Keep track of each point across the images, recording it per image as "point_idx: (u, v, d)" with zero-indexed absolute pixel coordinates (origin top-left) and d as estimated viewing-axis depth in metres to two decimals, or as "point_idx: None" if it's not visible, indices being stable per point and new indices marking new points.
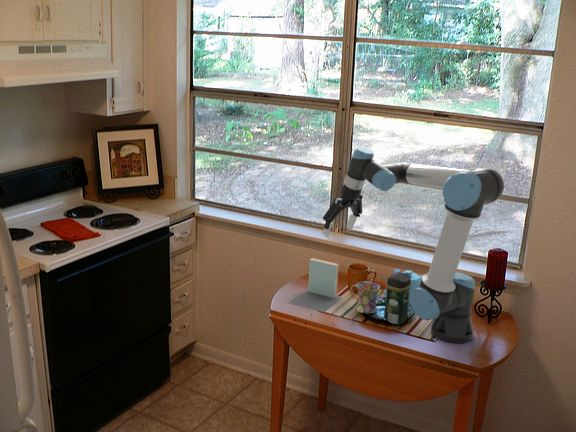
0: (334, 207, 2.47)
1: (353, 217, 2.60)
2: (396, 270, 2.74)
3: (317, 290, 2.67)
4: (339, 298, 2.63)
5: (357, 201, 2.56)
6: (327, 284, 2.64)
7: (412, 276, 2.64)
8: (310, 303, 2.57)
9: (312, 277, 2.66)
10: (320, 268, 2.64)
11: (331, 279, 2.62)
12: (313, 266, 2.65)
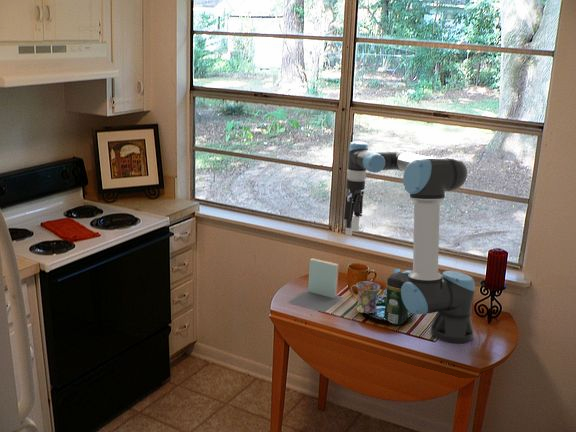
0: (349, 205, 2.66)
1: (356, 218, 2.76)
2: (396, 270, 2.74)
3: (317, 290, 2.67)
4: (339, 298, 2.63)
5: None
6: (327, 284, 2.64)
7: None
8: (310, 303, 2.57)
9: (312, 277, 2.66)
10: (320, 268, 2.64)
11: (331, 279, 2.62)
12: (313, 266, 2.65)
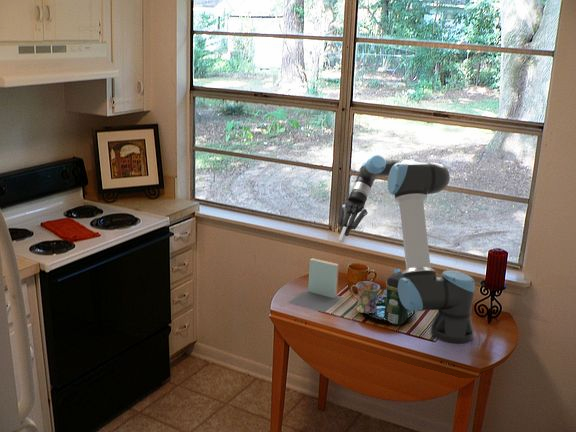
0: None
1: None
2: (396, 270, 2.74)
3: (317, 290, 2.67)
4: (339, 298, 2.63)
5: None
6: (327, 284, 2.64)
7: None
8: (310, 303, 2.57)
9: (312, 277, 2.66)
10: (320, 268, 2.64)
11: (331, 279, 2.62)
12: (313, 266, 2.65)
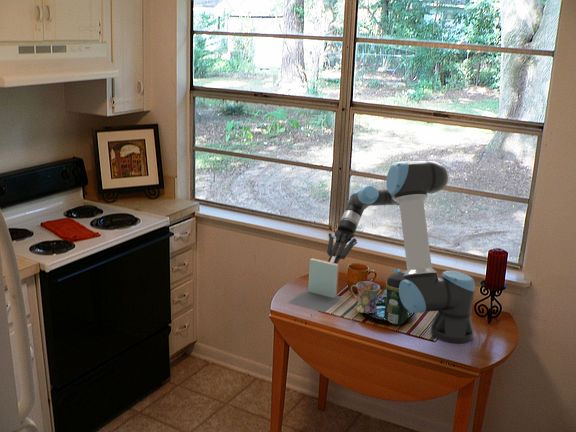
0: None
1: None
2: (396, 270, 2.74)
3: (317, 290, 2.67)
4: (339, 298, 2.63)
5: None
6: (327, 284, 2.64)
7: None
8: (310, 303, 2.57)
9: (312, 277, 2.66)
10: (320, 268, 2.64)
11: (331, 279, 2.62)
12: (313, 266, 2.65)
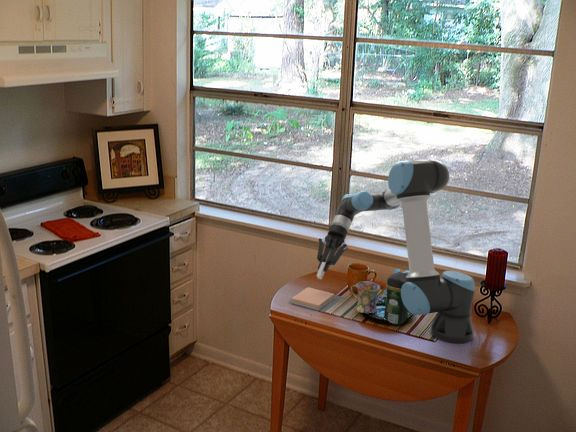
0: None
1: None
2: (396, 270, 2.74)
3: None
4: (339, 298, 2.63)
5: None
6: None
7: None
8: None
9: None
10: None
11: None
12: None
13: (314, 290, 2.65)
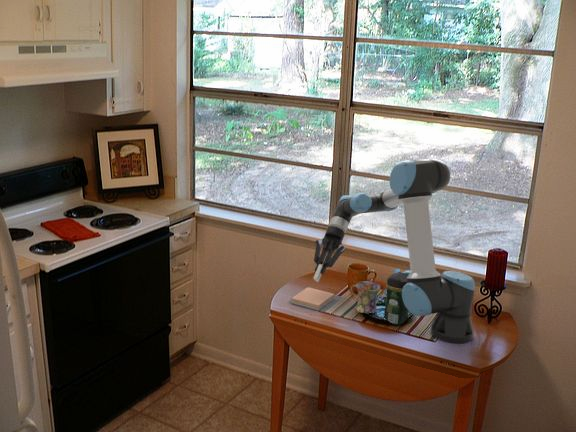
0: None
1: None
2: (396, 270, 2.74)
3: None
4: (339, 298, 2.63)
5: None
6: None
7: None
8: None
9: None
10: None
11: None
12: None
13: (314, 290, 2.65)
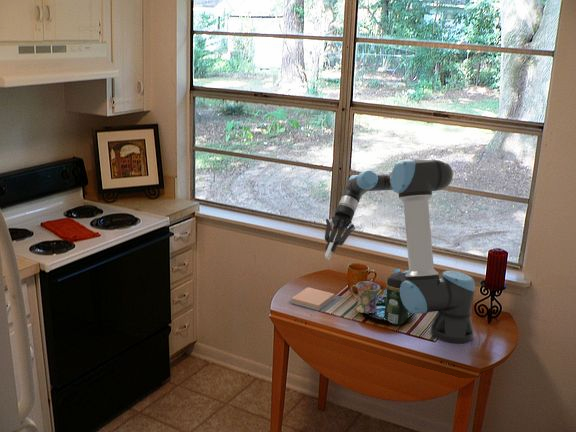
0: None
1: None
2: (396, 270, 2.74)
3: None
4: (339, 298, 2.63)
5: None
6: None
7: None
8: None
9: None
10: None
11: None
12: None
13: (314, 290, 2.65)
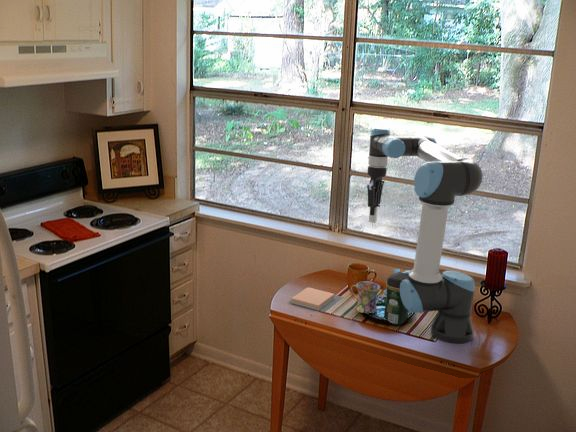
0: (371, 193, 2.61)
1: None
2: (396, 270, 2.74)
3: None
4: (339, 298, 2.63)
5: None
6: None
7: None
8: None
9: None
10: None
11: None
12: None
13: (314, 290, 2.65)
